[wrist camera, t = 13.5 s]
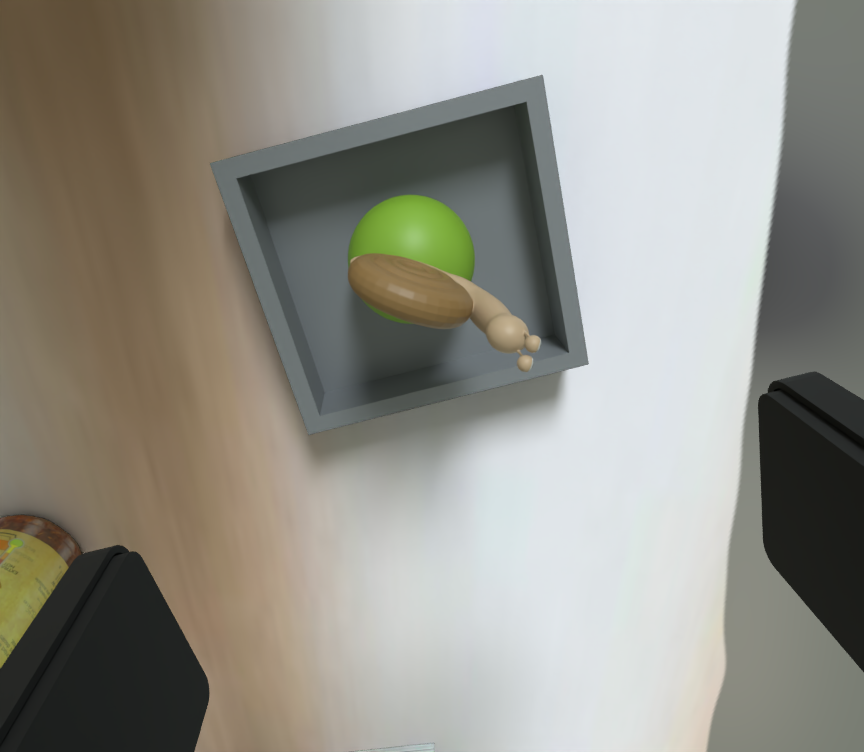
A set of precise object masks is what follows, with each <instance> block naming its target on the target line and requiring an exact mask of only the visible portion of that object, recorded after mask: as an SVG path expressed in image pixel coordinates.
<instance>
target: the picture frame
mask: <svg viewBox="0 0 864 752" xmlns="http://www.w3.org/2000/svg"><path fill="white" fill-rule="evenodd" d="M351 752H435V749H434V743H427V744H418V745H408V746H399V747H389V748H380V749H370V750H360V751H351Z"/></svg>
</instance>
